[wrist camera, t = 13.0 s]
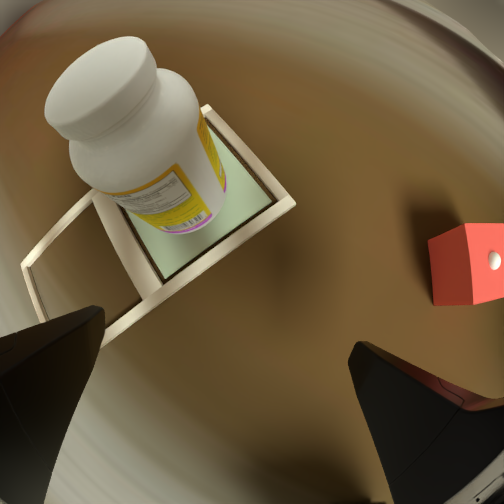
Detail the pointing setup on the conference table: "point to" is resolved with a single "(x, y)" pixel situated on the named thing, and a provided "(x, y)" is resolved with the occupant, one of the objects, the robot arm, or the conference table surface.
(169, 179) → the supplement bottle
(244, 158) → the silver picture frame
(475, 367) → the conference table surface
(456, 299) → the red die
